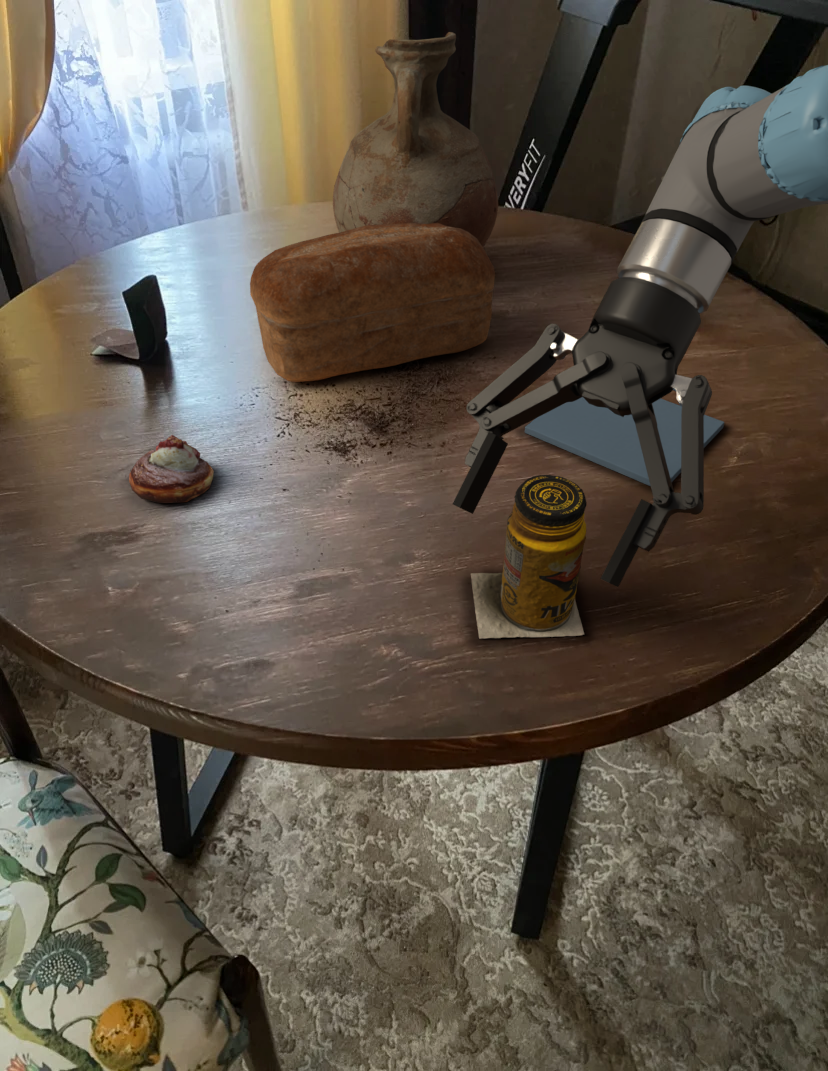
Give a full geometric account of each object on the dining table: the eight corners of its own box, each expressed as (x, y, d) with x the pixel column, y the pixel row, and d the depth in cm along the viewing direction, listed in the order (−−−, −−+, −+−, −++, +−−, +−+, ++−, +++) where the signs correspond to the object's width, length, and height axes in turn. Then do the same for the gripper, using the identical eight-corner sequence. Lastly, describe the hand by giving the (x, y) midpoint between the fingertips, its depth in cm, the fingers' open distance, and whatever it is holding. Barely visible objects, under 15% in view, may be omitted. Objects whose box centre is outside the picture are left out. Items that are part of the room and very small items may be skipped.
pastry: (224, 465, 84) (216, 424, 81) (197, 512, 79) (187, 470, 76) (149, 457, 86) (138, 416, 82) (117, 503, 80) (104, 461, 77)
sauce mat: (723, 428, 89) (725, 421, 89) (662, 492, 81) (664, 485, 80) (591, 379, 97) (592, 372, 96) (524, 433, 89) (524, 426, 88)
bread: (252, 349, 102) (235, 233, 93) (462, 310, 110) (466, 199, 100) (276, 399, 94) (260, 277, 84) (502, 353, 101) (511, 236, 92)
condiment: (584, 636, 67) (606, 522, 59) (478, 640, 67) (486, 526, 59) (567, 573, 73) (586, 461, 65) (470, 576, 72) (476, 464, 64)
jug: (477, 243, 126) (488, 11, 106) (509, 309, 110) (529, 50, 90) (333, 252, 124) (316, 17, 104) (344, 320, 108) (327, 57, 88)
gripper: (823, 366, 62) (688, 622, 63) (536, 274, 73) (428, 491, 75) (820, 327, 55) (670, 614, 56) (506, 233, 67) (388, 472, 68)
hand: (532, 544), depth 65 cm, fingers open, 13 cm apart
